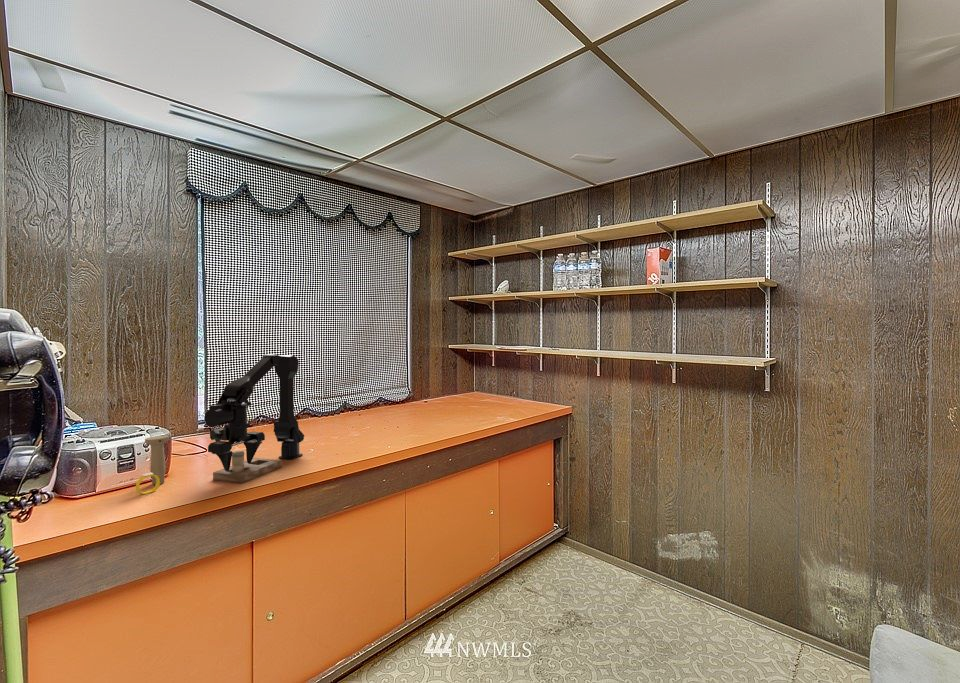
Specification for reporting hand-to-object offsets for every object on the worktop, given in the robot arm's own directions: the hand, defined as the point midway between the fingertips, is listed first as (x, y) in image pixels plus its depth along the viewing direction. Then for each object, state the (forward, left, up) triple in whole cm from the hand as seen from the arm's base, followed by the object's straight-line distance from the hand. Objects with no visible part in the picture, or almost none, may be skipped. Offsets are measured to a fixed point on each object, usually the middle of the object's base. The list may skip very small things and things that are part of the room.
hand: (238, 467), depth 154 cm
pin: (0, 0, -3) cm, 3 cm away
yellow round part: (+20, -15, -4) cm, 25 cm away
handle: (+13, -20, -4) cm, 24 cm away
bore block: (-4, 0, -4) cm, 6 cm away
